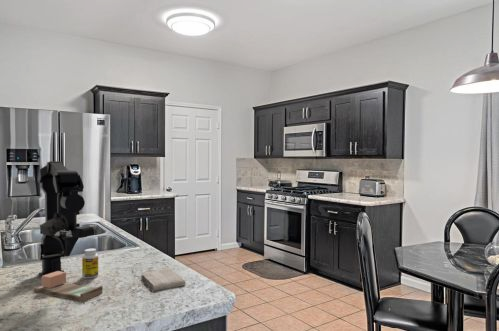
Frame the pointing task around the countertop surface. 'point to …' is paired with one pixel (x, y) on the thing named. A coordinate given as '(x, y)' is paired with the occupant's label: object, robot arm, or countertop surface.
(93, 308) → the countertop surface
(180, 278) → the washcloth
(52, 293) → the switch base
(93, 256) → the supplement bottle
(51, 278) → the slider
